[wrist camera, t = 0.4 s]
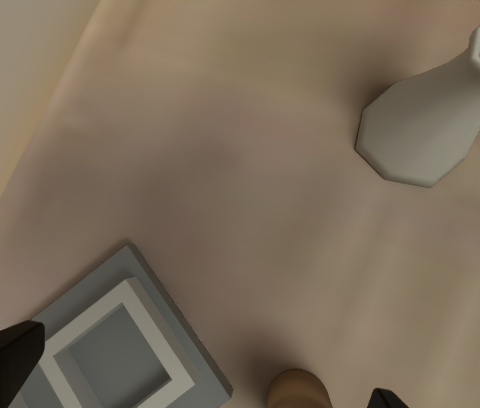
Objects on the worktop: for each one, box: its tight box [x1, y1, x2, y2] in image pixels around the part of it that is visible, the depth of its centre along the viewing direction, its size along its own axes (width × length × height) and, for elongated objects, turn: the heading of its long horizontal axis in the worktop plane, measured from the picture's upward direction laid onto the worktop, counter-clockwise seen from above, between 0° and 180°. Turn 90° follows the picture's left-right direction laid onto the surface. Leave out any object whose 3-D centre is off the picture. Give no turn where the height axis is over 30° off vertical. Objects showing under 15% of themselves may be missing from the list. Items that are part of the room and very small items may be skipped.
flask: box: [356, 25, 480, 188], centre depth 17 cm, size 7×7×10 cm
